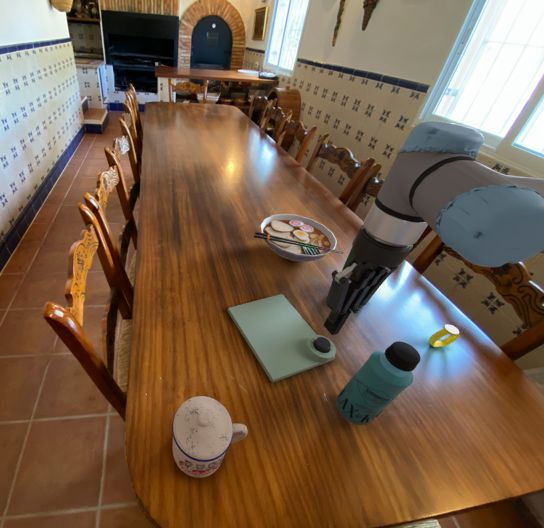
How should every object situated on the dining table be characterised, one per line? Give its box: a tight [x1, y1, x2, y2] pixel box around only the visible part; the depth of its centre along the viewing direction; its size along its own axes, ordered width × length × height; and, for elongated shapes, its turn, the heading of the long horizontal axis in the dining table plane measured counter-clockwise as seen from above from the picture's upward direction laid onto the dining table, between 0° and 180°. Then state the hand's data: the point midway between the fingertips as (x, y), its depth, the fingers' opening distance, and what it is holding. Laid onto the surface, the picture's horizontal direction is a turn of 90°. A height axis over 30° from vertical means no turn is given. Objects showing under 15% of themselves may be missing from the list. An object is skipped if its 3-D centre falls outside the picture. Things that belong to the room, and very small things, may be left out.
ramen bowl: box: [253, 213, 344, 263], centre depth 92 cm, size 25×23×8 cm
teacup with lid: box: [171, 395, 249, 479], centre depth 46 cm, size 12×9×12 cm
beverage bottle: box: [335, 341, 422, 426], centre depth 50 cm, size 6×7×20 cm
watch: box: [428, 323, 461, 349], centre depth 68 cm, size 6×3×6 cm, turn 100°
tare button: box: [314, 336, 331, 353], centre depth 63 cm, size 3×3×2 cm
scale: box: [227, 293, 337, 384], centre depth 68 cm, size 20×16×3 cm
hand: (330, 329), depth 60 cm, fingers closed
